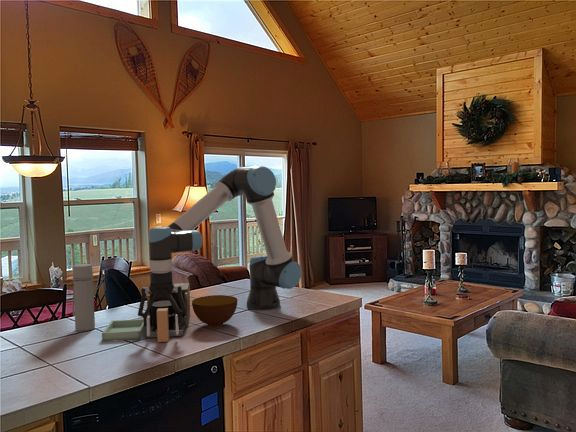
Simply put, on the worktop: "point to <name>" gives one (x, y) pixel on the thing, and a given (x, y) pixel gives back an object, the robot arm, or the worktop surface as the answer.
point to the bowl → (214, 309)
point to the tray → (124, 330)
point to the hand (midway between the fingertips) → (163, 334)
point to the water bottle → (83, 297)
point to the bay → (186, 298)
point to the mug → (170, 313)
